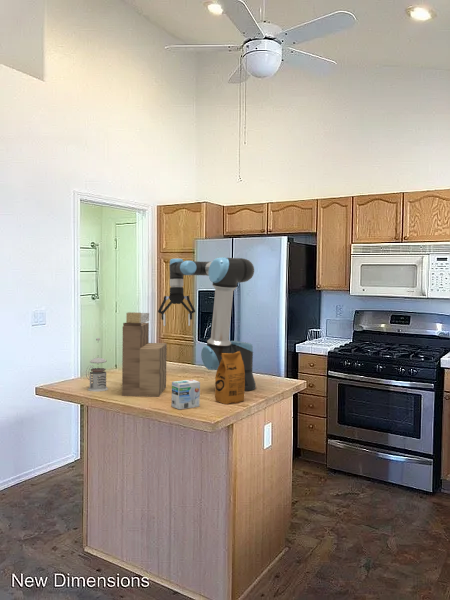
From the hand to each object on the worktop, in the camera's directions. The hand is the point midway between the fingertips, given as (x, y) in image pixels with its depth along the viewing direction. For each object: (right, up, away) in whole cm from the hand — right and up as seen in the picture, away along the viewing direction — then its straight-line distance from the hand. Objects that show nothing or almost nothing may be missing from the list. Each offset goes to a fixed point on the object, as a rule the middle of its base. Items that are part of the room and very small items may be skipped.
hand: (176, 325), depth 284 cm
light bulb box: (+10, -32, -63) cm, 71 cm away
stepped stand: (-12, -30, -36) cm, 48 cm away
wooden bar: (-16, +3, -30) cm, 34 cm away
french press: (-36, -29, -33) cm, 57 cm away
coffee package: (+28, -31, -52) cm, 67 cm away
